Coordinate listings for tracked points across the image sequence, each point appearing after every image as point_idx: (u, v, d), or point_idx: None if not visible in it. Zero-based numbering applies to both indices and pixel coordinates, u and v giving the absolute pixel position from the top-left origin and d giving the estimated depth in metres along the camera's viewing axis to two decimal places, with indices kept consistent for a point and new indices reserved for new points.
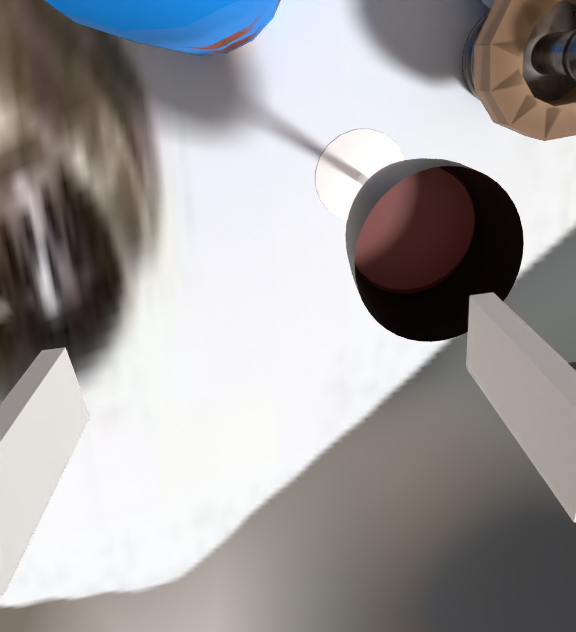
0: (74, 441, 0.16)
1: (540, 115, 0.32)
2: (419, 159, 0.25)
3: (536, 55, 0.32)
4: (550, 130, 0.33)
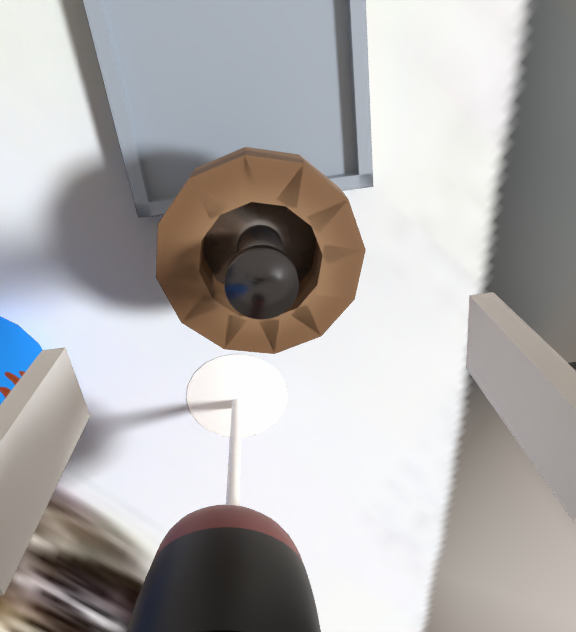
0: (74, 441, 0.16)
1: (292, 324, 0.26)
2: (149, 582, 0.21)
3: None
4: (317, 325, 0.26)
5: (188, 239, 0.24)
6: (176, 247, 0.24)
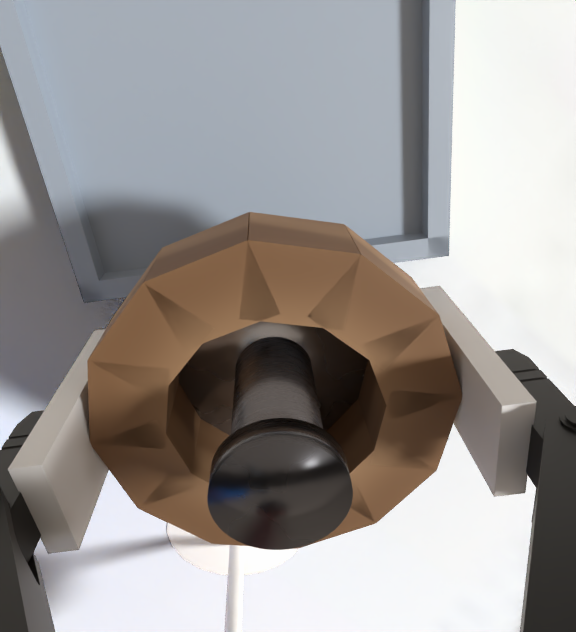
0: None
1: None
2: None
3: None
4: (371, 508, 0.15)
5: (145, 383, 0.13)
6: (123, 396, 0.13)
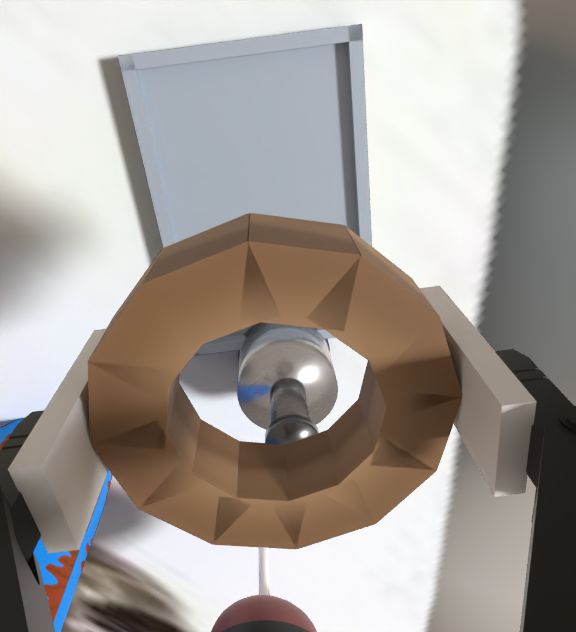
0: None
1: (329, 508, 0.15)
2: None
3: None
4: (372, 508, 0.15)
5: (145, 384, 0.13)
6: (124, 397, 0.13)
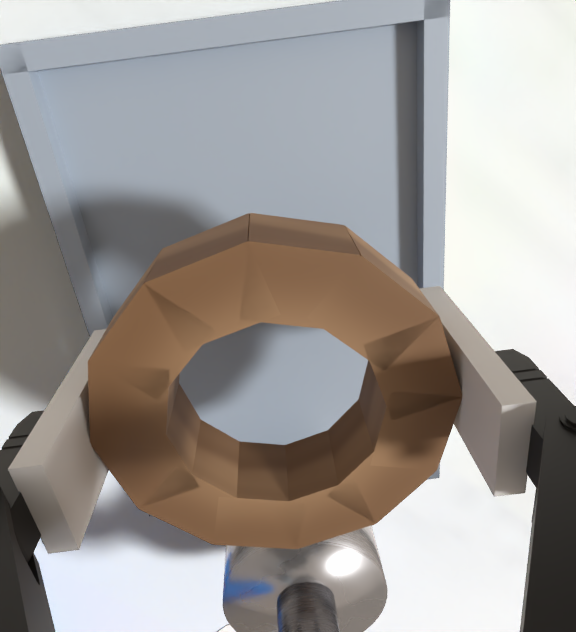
0: None
1: (329, 508, 0.15)
2: None
3: None
4: (371, 508, 0.15)
5: (145, 384, 0.13)
6: (123, 397, 0.13)
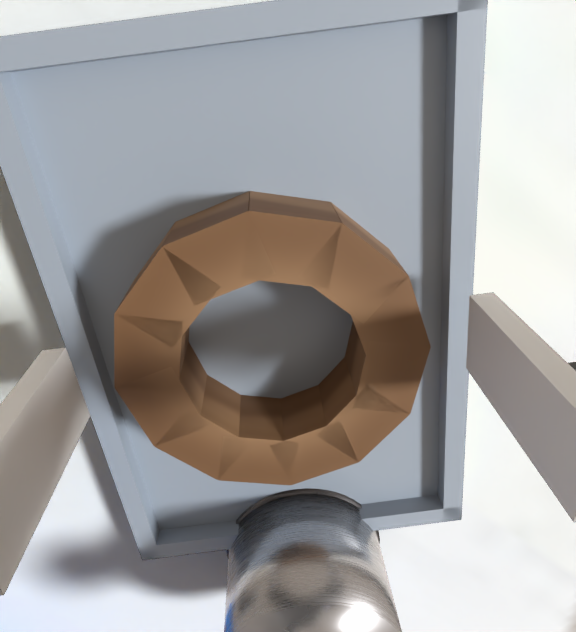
0: (74, 441, 0.16)
1: (318, 447, 0.18)
2: None
3: None
4: (355, 448, 0.18)
5: (162, 334, 0.15)
6: (143, 345, 0.15)
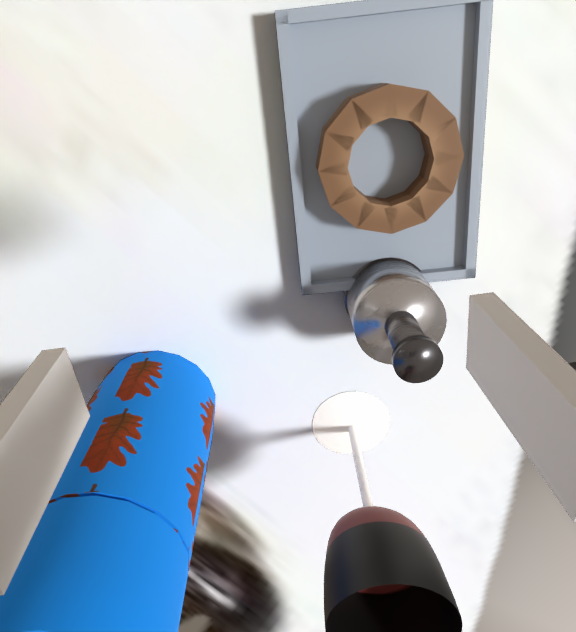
0: (74, 441, 0.16)
1: (407, 211, 0.37)
2: (339, 555, 0.32)
3: None
4: (425, 212, 0.37)
5: (344, 143, 0.34)
6: (335, 149, 0.35)
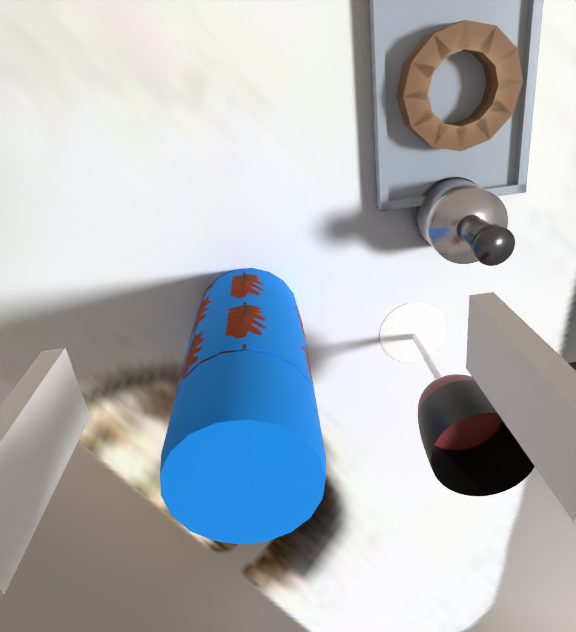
0: (74, 441, 0.16)
1: (474, 130, 0.44)
2: (436, 404, 0.40)
3: (462, 239, 0.45)
4: (489, 131, 0.44)
5: (426, 72, 0.42)
6: (418, 77, 0.42)
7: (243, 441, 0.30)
